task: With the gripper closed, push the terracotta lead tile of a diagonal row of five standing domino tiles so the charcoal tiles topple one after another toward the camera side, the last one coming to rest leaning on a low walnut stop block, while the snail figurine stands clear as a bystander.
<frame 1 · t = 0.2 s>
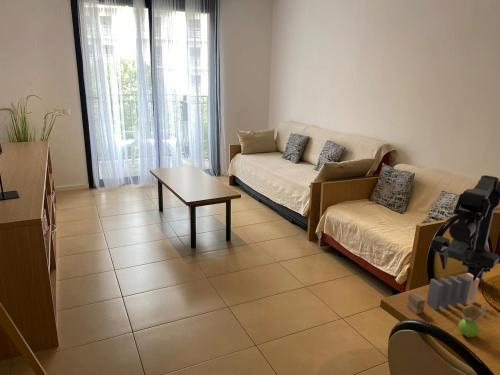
hand: (458, 274, 123), 14 cm above the table, fingers open, 9 cm apart
domino 1: (467, 299, 134), on the table
domino 4: (441, 304, 131), on the table
snail figurine: (468, 335, 116), on the table
stop block: (414, 309, 128), on the table
domino 3: (450, 303, 132), on the table
domino 5: (432, 306, 130), on the table
domino 2: (459, 301, 133), on the table
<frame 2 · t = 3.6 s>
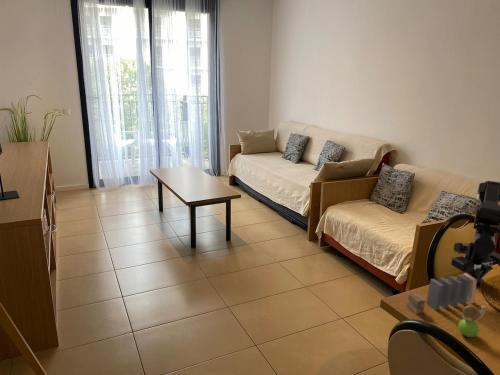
hand: (474, 283, 132), 7 cm above the table, fingers closed
domino 1: (467, 299, 134), on the table, tilted 8°
everything else where it was.
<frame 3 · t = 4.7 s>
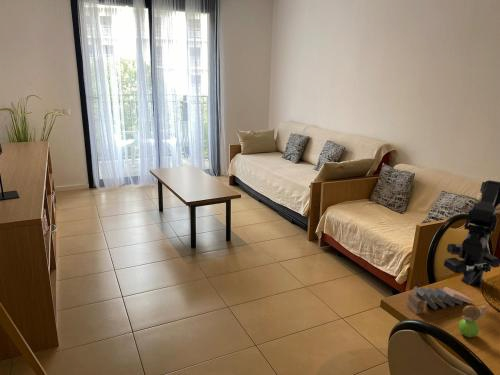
hand: (467, 284, 132), 6 cm above the table, fingers closed
domino 1: (466, 298, 134), point 1 cm above the table, tilted 63°, touching domino 2
domino 4: (440, 303, 131), point 1 cm above the table, tilted 52°, touching domino 3, domino 5
domino 3: (449, 301, 132), point 1 cm above the table, tilted 58°, touching domino 2, domino 4
domino 5: (432, 305, 130), on the table, tilted 45°, touching domino 4, stop block
domino 2: (457, 300, 133), point 1 cm above the table, tilted 61°, touching domino 1, domino 3
everything else where it was.
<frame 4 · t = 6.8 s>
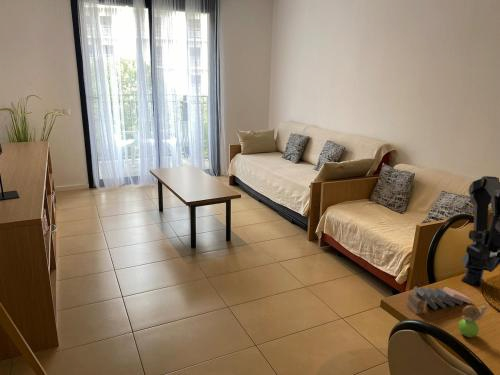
hand: (489, 271, 130), 12 cm above the table, fingers closed
nothing on the table moved.
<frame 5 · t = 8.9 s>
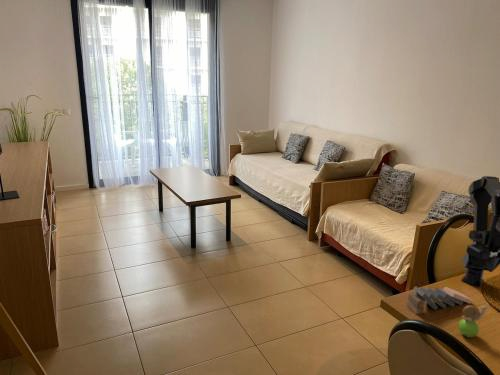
hand: (489, 271, 130), 12 cm above the table, fingers closed
nothing on the table moved.
at the end: domino 5 tilted 45°; domino 3 tilted 58° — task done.
